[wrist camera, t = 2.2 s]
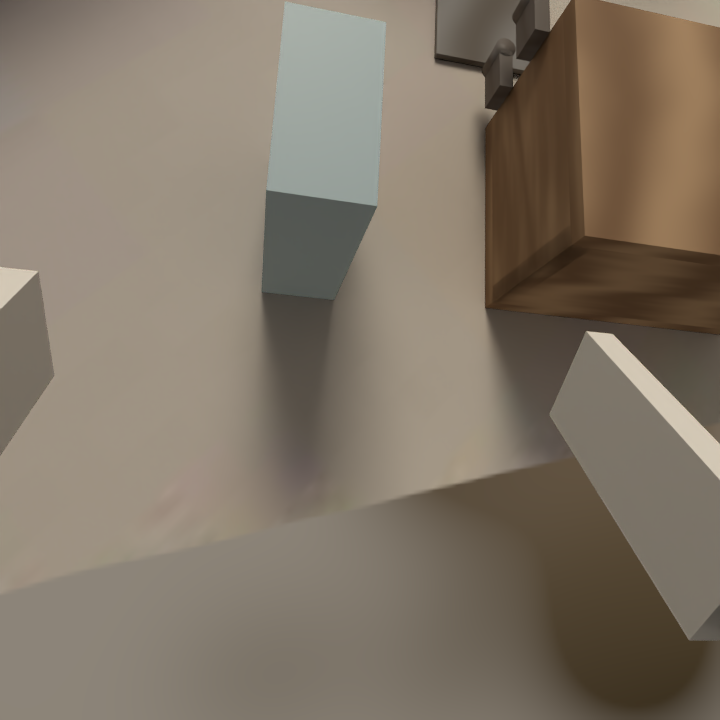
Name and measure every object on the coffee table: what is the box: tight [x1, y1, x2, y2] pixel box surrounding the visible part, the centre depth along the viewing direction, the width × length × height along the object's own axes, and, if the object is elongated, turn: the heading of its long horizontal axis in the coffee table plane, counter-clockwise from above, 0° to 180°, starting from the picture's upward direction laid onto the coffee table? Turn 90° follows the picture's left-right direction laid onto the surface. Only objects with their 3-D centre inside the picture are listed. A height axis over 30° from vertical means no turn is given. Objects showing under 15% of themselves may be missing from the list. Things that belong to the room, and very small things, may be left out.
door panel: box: [262, 2, 386, 300], centre depth 26 cm, size 8×4×11 cm, turn 177°
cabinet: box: [435, 0, 720, 335], centre depth 31 cm, size 20×26×10 cm
